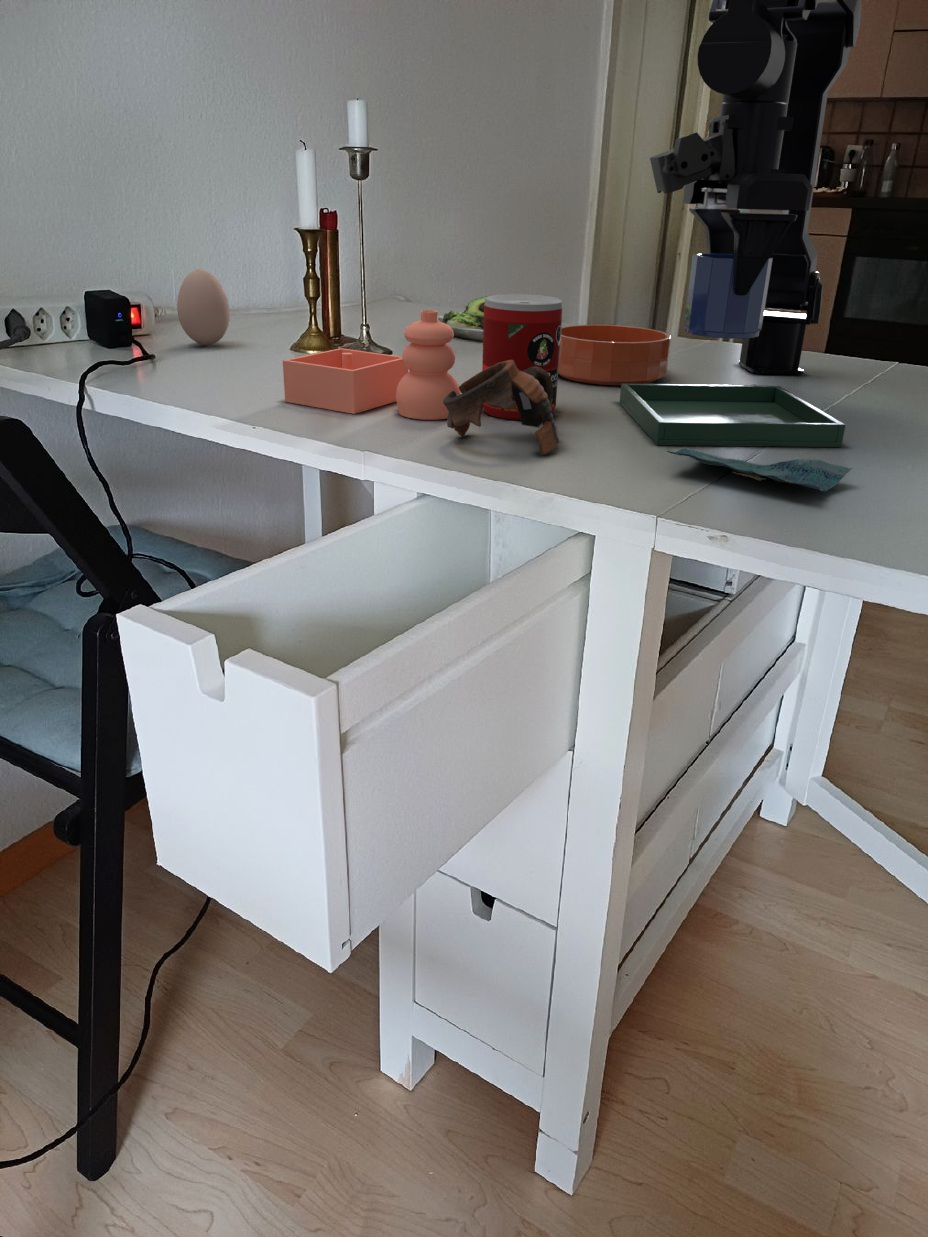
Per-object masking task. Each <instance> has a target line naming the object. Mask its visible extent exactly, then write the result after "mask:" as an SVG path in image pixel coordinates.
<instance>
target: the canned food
mask: <svg viewBox="0 0 928 1237" xmlns="http://www.w3.org/2000/svg"><path fill="white" fill-rule="evenodd" d="M487 296H488V297H486V296H485V297H486V298H485V304H484V324H483V341H482V361H481V362H482V364H481V365H482V366H481V371H483V370H485V369H487V368H489V367H490V366H493V365H495V364H497V363H499V362H503V361H507V360H513V361H514V362H515V365H516V367H517V368H518V370H519V371H524V370H526V369H528V368H530V367H540V368H542V369H543V370H545V371H546V372H547V374H548V375H549V376H550V378H551V380H552V384H553V396H552V401H551V404H550V406H551V413H552V415H553V414H554V412H555V409H556V406H557V395H558V382H559V381H558V380H559V374H558V368H559V354H560V340H561V327H563V326H562V324H563V300H562V299H561V298H557V297H554V296H549V295H548V296H547V295H538V294H521V293H519V294H517V293H509V294H507V293H506V294H493V295H487ZM512 399H513V400H514V398H513V397H512ZM514 403H515V401H514ZM515 405H516V403H515ZM516 406H517V405H516ZM482 411H483V412H484V413H485V414H487V415H489V416H491V417H495V418H498V419H505V420H517V421H521V417H520V413H519V411H518V408H517V407H516V408H514V409H510V410H507V409H503V408H495V407H491V406H490V405H488V404H487V403H485V402H484V404H483V409H482Z"/></svg>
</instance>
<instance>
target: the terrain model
mask: <svg viewBox="0 0 928 1237" xmlns="http://www.w3.org/2000/svg"><path fill="white" fill-rule="evenodd" d="M666 452H667V453H670V454H672V455H676V456H683V457H689V458H691V459H694V460H696V461H698V462H700V463H702V464H704V465H709V466H714V467H715V466H717V467H726V468H729V469H731V473H733V474H736V475H739V476H743V477H745V478H747V477H749V478H751V479H755V480H756V481H760V482H761V481H762V480H763V481H764V480H765V481H766V480H767V479H768V478H769V479H772V480H773V481H775V482H780V483H787V484H792V485H798V486H801V487H806V488H810V489H815V490H818V491H821V492H827V491H829V490H830V489H832V488H833V487H835V486H836V485H837V484H838V483H839V482H840V481H841V480H843V478H844V477H846V475H848V474H849V473H850V472H851V471H852V470H853V469H854V468H852V467H847V466H843V465H838V464H835V463H829V462H827V461H825V460H822V459H813V458H799V459H791V460H785V461H779V462H775V463H772V464H766V465H759V464H755V463H751V462H749V461H745V460H740V459H734V458H720V457H718V456H713V455H711V454H709V453H705V452H702V451H698V450H695V449H694V448H693V449H692V448H690V447H689V448H688V447H685V448H680V449H678V450H676V451H670V450H666Z"/></svg>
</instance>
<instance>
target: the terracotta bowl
mask: <svg viewBox="0 0 928 1237" xmlns="http://www.w3.org/2000/svg"><path fill="white" fill-rule="evenodd" d="M671 341H672V335H671V334H669V333H667V332H665V331H661V330H658V329H653V328H647V327H639V326H630V325H617V324H616V325H615V324H576V325H575V324H574V325H565V326H561V340H560V354H559V368H558V376H560V377H562V378H564V379H566V380H569V381H572V382H573V381H574V382H578V383H583V384H592V385H601V386H621V384H652V383H654V382H656V381H657V380H659V379H662V378H665V377H666V376H667V373H668V367H669V360H670V359H669V358H670V348H671Z"/></svg>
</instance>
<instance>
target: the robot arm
mask: <svg viewBox="0 0 928 1237" xmlns="http://www.w3.org/2000/svg"><path fill="white" fill-rule="evenodd" d="M861 19H862V0H712V1H711V5H710V9H709V13H708V21H709V22H710V23H712V24H711V25H709V27H708V29H707V30H706V32H705V33H704V35H703V37H702V39H701V42H700V44H699V45H698V50H697V67H698V72H699V75H700V78H701V79H702V81H703V83H705V85H706V86H707V87H708V88H709V89H710V90H712V91H714V92H715V93H718V94H721V95H722V96H721V103H720V111H719V116H717V117H713V119H712V120H711V121H710V122H709V125H708V133H707V136H705V137H701V135H700V134H699V133H698V132H697V131H696V132H692V133H689V134H688V135H685V136H681V137H678V138H676V139H675V141H674V147H673V148H672V149H669V150H666V151H663V152H661V153H658V154H655V155H653V156H651V157H649V161H650V166H651V170H652V176H653V178H654V184H655V188H656V193H657V194H661V193H663V194H664V195H665V194H670V193H671V194H672V193H674V192H677V191H679V190H682V189H683V188H684V192H683V201H682V204H684V205H685V204H687V205H688V204H689V205H696V204H697V207H696V208H695V207H694V208H692V207H689V208H688V210H689V212H690V213H691V214H692V215H693V216H694V217H695V218H696V220H698V222H699V223H700V224H701V225H702V226H703V229H704V234H705V242H706V248H707V249H706V250H707V253H725V254H734V293H735V294H736V295H747V294H748V292H749V290H750V289H751V287H752V285H753V284H754V282H755V280H756V279H757V277H758V275H759V274H760V272H761V270H762V269H763V267H764V265H765V264H766V262H767V260H768V259H769V257H771V258H773V259H772V265H771V272H770V278H769V284H768V291H767V297H766V304H765V310H764V316H763V323H762V329H761V330H760V335H759V336H758V337H755V338H745V339H742V342H741V349H740V355H739V361H738V365H739V366H740V367H741V368H743V369H746V370H747V371H749V372H750V373H751V374H752V373H753V374H768V375H771V374H772V375H773V374H775V375H784V374H785V375H803V374H804V371H805V370H804V369H802V368H800V363H801V357H802V351H803V346H804V340H805V333H806V329H807V326H810V325H816V324H817V325H818V324H819V322H820V318H821V311H822V305H823V304H822V303H823V291H824V285H823V283H822V282H821V272H819V271H817V264H818V257H819V256H818V251H817V250H816V247H815V245H814V243H813V240H812V238H811V236H810V233H809V224H810V217H811V211H812V210H811V209H812V205H813V204H812V203H813V196H814V189H815V183H816V176H817V169H818V162H819V155H820V151H821V150H820V148H821V143H822V135H823V128H824V122H825V117H826V116H825V115H826V109H827V108H826V107H827V102H828V95H829V91H830V89H831V88H832V87H833V85H834V84H835V82H836V81H837V79H838V78H839V76H840V75H841V73H842V72H843V71H844V69H845V68H846V66H847V64H848V63H849V56H850V52H851V48H854V47H855V46H856V44H857V42H858V38H859V32H860V27H861ZM769 310H776V311H769ZM777 310H778V311H777ZM782 311H788V312H782ZM789 311H790V312H789ZM794 312H805V313H794Z"/></svg>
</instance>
